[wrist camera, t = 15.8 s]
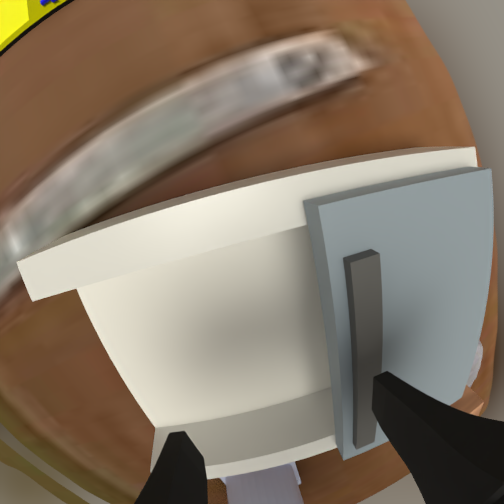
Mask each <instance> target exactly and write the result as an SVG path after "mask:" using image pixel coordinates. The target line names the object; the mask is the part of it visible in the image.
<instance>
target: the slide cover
mask: <svg viewBox="0 0 504 504" xmlns="http://www.w3.org/2000/svg"><path fill="white" fill-rule="evenodd" d="M303 203H304V208H305V213H306V218H307V223H308V228H309V234H310V239H311V245H312V250H313V256H314V262H315V268H316V274H317V280H318V286H319V293H320V300H321V306H322V313H323V321H324V328H325V336H326V344H327V352H328V361H329V370H330V379H331V389H332V400H333V412H334V425H335V440H336V445H337V447H338V450H339V452H340V454H341V456H342V458H343V460H346V459H348V458H351V457H353V456H356V455H358V454H361V453H363V452H365V451H368V450H370V449H372V448H374V447H376V446H379V445H381V444H383V443H385V442H387V441H389V439H388V438H387V436H386V435H385V434H384V432H383V431H382V429H381V427H380V425H379V423H378V421H377V419H376V417H375V415H374V413H373V411H372V393H373V377H374V376H377V375H379V374H381V373H383V372H385V371H389V372H390V373H392V374H393V375H395V376H397V377H398V378H400V379H401V380H403V381H405V382H406V383H408V384H410V385H411V386H413V387H415V388H416V389H418V390H420V391H422V392H423V393H425V394H427V395H429V396H431V397H433V398H434V399H436V400H438V401H440V402H443V403H445V404H447V405H449V406H450V405H451V404H453V403H454V402H456V401H457V400H458V399H460V398H461V397H462V395H463V392H464V390H465V387H466V384H467V381H468V378H469V375H470V371H471V368H472V365H473V361H474V358H475V354H476V350H477V346H478V342H479V338H480V334H481V329H482V325H483V320H484V314H485V309H486V303H487V297H488V290H489V282H490V274H491V263H492V250H493V219H494V217H493V186H492V172H491V168H482V167H471V166H469V167H463V168H457V169H452V170H446V171H441V172H435V173H430V174H425V175H419V176H414V177H409V178H404V179H399V180H394V181H389V182H384V183H380V184H375V185H370V186H366V187H361V188H356V189H352V190H347V191H343V192H339V193H334V194H330V195H325V196H321V197H317V198H313V199H308V200H304V201H303Z"/></svg>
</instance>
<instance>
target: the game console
mask: <svg viewBox="0 0 504 504" xmlns="http://www.w3.org/2000/svg"><path fill="white" fill-rule="evenodd" d="M72 1H74V0H0V57H1V56H2V55H3V54H4V53H5V52H6V51H7V50H8V49H9V48H10V47H11V46H13V45H14V44H15V43H16V42H17V41H18V40H20V39H21V38H22V37H23V36H24V35H26V34H27V33H28V32H29V31H31V30H32V29H33V28H35V27H36V26H37V25H38V24H40V23H41V22H42V21H44V20H45V19H47V18H48V17H49V16H51V15H52V14H54V13H55V12H57V11H58V10H60V9H61V8H63V7H64V6H66V5H67V4H69V3H71V2H72Z"/></svg>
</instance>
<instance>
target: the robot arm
mask: <svg viewBox="0 0 504 504" xmlns="http://www.w3.org/2000/svg"><path fill="white" fill-rule="evenodd" d="M372 411H373V413H374V415H375V417H376V419H377V421H378V423H379V425H380V427H381V429H382V431H383V432H384V434H385V435H386V436H387V438H388V439H389V441H390V442H391V444H392V445H393V447H394V448H395V450H396V451H397V452H398V454H399V455H400V457H401V458H402V460H403V461H404V462H405V464H406V465H407V467H408V469H409V470H410V472H411V473H412V475H413V478H414V479H415V482H416V484H417V486H418V487H419V490H420V492H421V494H422V496H423V498H424V501H425V503H426V504H504V422H502V421H497V420H492V419H487V418H483V417H479V416H476V415H473V414H470V413H467V412H464V411H461V410H459V409H456V408H454V407H451V406H449V405H447V404H445V403H443V402H440V401H438V400H436V399H434V398H433V397H431V396H429V395H427V394H425V393H423V392H422V391H420V390H418V389H416V388H415V387H413V386H411V385H410V384H408V383H406V382H405V381H403V380H401V379H400V378H398V377H397V376H395V375H393V374H392V373H390V372H389V371H385V372H383V373H381V374H379V375H377V376H374V377H373V393H372ZM220 479H221V480H222V481H223V482H224V484H225V485H226V489H227V498H228V504H304V502H303V499H302V496H301V493H300V490H299V487H298V485H299V484H301V480H300V477H299V474H298V470H297V467H296V464H295V461H294V462H291V463H287V464H284V465H280V466H276V467H272V468H268V469H263V470H259V471H254V472H249V473H244V474H239V475H233V476H227V477H220ZM134 504H208V495H207V475H206V468H205V462H204V457H203V456H202V454H201V453H200V452H199V450H198V449H197V448H196V446H195V445H194V443H193V442H192V441H191V439H190V438H189V436H188V435H187V433H186V432H185V431H179V432H171V433H169V434H168V436H167V439H166V441H165V443H164V446H163V448H162V450H161V453H160V455H159V457H158V460H157V462H156V464H155V466H154V468H153V470H152V472H151V474H150V476H149V478H148V480H147V482H146V484H145V486H144V488H143V489H142V491H141V493H140V495H139V496H138V498H137V500H136V501H135V503H134Z"/></svg>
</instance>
